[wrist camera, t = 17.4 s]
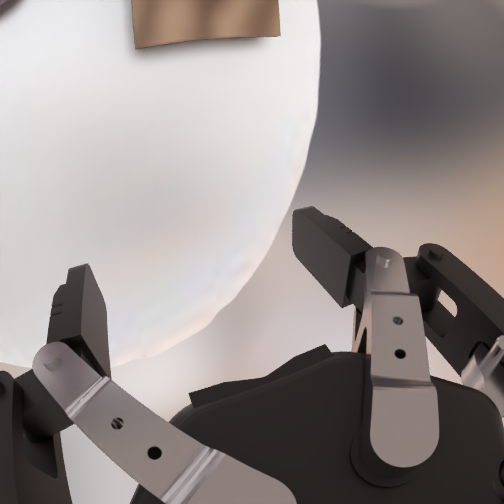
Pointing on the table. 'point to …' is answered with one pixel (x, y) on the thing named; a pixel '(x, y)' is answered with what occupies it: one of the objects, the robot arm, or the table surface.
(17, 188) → the table surface
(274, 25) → the walnut stand
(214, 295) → the table surface
